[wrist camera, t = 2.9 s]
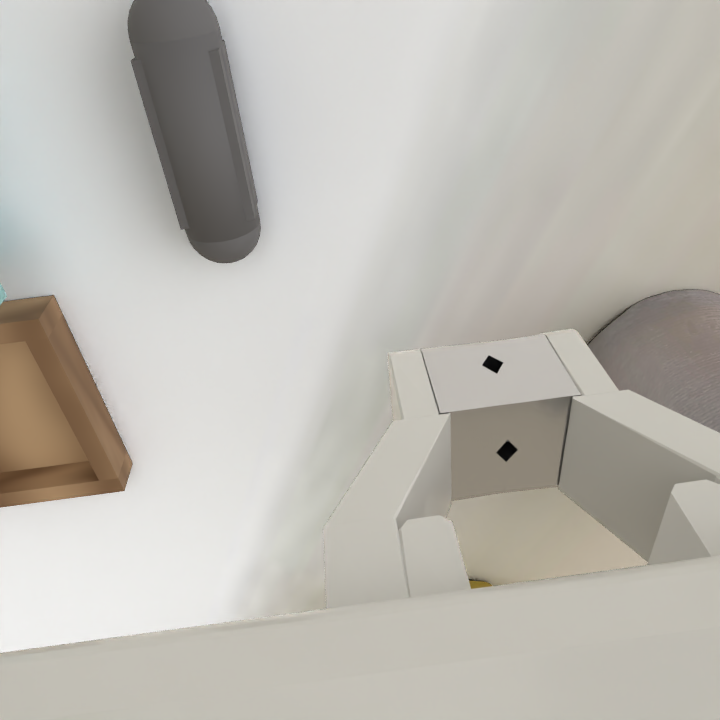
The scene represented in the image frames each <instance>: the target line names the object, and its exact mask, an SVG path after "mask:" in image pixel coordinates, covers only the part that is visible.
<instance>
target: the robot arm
mask: <svg viewBox="0 0 720 720" xmlns="http://www.w3.org/2000/svg"><path fill="white" fill-rule="evenodd" d="M388 371H389V384H390V396H391V408H392V416H393V421H392V423H391V424H390V426H389V427H388V429H387V430H386V432H385V433H384V435H383V436H382V438H381V440H380V441H379V443H378V444H377V446H376V447H375V449H374V450H373V452H372V453H371V455H370V456H369V458H368V460H367V461H366V463H365V464H364V466H363V467H362V469H361V470H360V472H359V473H358V475H357V476H356V478H355V480H354V481H353V483H352V484H351V486H350V487H349V489H348V490H347V492H346V493H345V495H344V496H343V498H342V500H341V501H340V503H339V504H338V506H337V507H336V509H335V510H334V512H333V513H332V515H331V516H330V518H329V520H328V521H327V523H326V524H325V526H324V527H323V541H324V567H325V593H326V609H320V610H313V611H305V612H298V613H290V614H283V615H276V616H268V617H261V618H254V619H246V620H239V621H231V622H224V623H217V624H209V625H202V626H195V627H187V628H180V629H172V630H165V631H158V632H150V633H143V634H136V635H128V636H121V637H114V638H106V639H99V640H91V641H84V642H77V643H69V644H62V645H55V646H47V647H40V648H33V649H25V650H18V651H11V652H3V653H0V720H720V433H719V432H717V431H715V430H712V429H710V428H708V427H706V426H704V425H702V424H700V423H698V422H696V421H693V420H691V419H689V418H687V417H685V416H683V415H681V414H679V413H677V412H675V411H672V410H670V409H668V408H666V407H664V406H662V405H660V404H658V403H656V402H654V401H651V400H649V399H647V398H645V397H643V396H641V395H639V394H637V393H635V392H633V391H630V390H622V391H619V390H618V389H617V387H616V386H615V384H614V383H613V381H612V380H611V379H610V377H609V376H608V374H607V373H606V371H605V370H604V368H603V367H602V366H601V364H600V363H599V361H598V360H597V358H596V357H595V356H594V354H593V353H592V351H591V350H590V348H589V347H588V346H587V344H586V343H585V341H584V340H583V338H582V337H581V336H580V334H579V333H578V331H576V330H574V329H572V328H571V329H565V330H559V331H552V332H546V333H541V334H540V335H533V336H525V337H518V338H511V339H503V340H496V341H489V342H476V343H467V344H458V345H449V346H440V347H430V348H421V349H420V350H419V349H413V350H406V351H398V352H390V353H388ZM550 487H559V488H558V489H559V490H560V491H561V492H563V493H564V494H565V495H566V496H567V497H569V498H570V499H571V500H572V501H574V502H575V503H576V504H577V505H578V506H580V507H581V508H582V509H583V510H585V511H586V512H587V513H588V514H589V515H591V516H592V517H593V518H594V519H596V520H597V521H598V522H599V523H601V524H602V525H603V526H604V527H605V528H607V529H608V530H609V531H610V532H612V533H613V534H614V535H615V536H616V537H618V538H619V539H620V540H621V541H623V542H624V543H625V544H626V545H628V546H629V547H630V548H631V549H632V550H634V551H635V552H636V553H637V554H639V555H640V556H641V557H642V558H643V559H645V560H646V561H647V562H648V564H647V565H645V566H637V567H630V568H622V569H615V570H608V571H600V572H593V573H586V574H578V575H571V576H563V577H556V578H549V579H541V580H534V581H526V582H519V583H512V584H504V585H497V586H490V587H482V588H475V589H471V587H470V583H469V579H468V576H467V572H466V568H465V565H464V561H463V557H462V554H461V550H460V546H459V543H458V539H457V536H456V532H455V528H454V525H453V522H452V521H450V520H448V519H446V517H447V514H448V512H449V509H450V507H451V504H452V501H454V500H460V499H466V498H472V497H478V496H485V495H491V494H497V493H503V492H513V491H522V490H531V489H541V488H550Z"/></svg>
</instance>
